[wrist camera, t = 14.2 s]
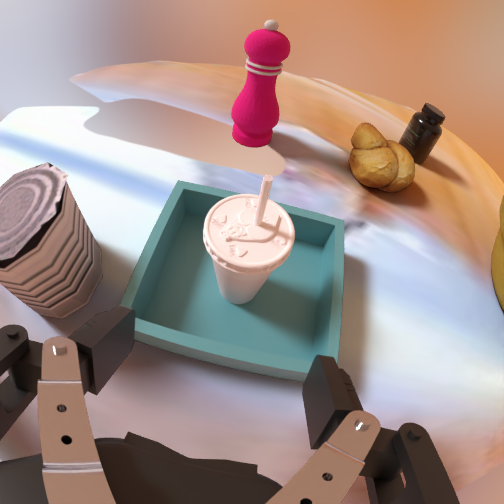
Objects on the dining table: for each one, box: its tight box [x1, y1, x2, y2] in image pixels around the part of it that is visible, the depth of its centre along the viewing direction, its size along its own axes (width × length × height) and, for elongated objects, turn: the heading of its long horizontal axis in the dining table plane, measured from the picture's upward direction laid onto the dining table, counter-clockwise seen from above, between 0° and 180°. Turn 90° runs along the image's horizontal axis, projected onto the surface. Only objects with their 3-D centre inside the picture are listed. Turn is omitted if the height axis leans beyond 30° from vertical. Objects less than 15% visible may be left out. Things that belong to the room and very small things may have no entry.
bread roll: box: [349, 123, 415, 193], centre depth 38 cm, size 13×10×8 cm
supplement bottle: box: [399, 103, 445, 163], centre depth 44 cm, size 7×7×12 cm
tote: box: [120, 180, 344, 382], centre depth 26 cm, size 18×16×5 cm
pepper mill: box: [231, 20, 290, 147], centre depth 34 cm, size 7×7×20 cm
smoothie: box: [203, 175, 295, 304], centre depth 21 cm, size 6×6×14 cm
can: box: [0, 163, 102, 319], centre depth 21 cm, size 11×11×12 cm
